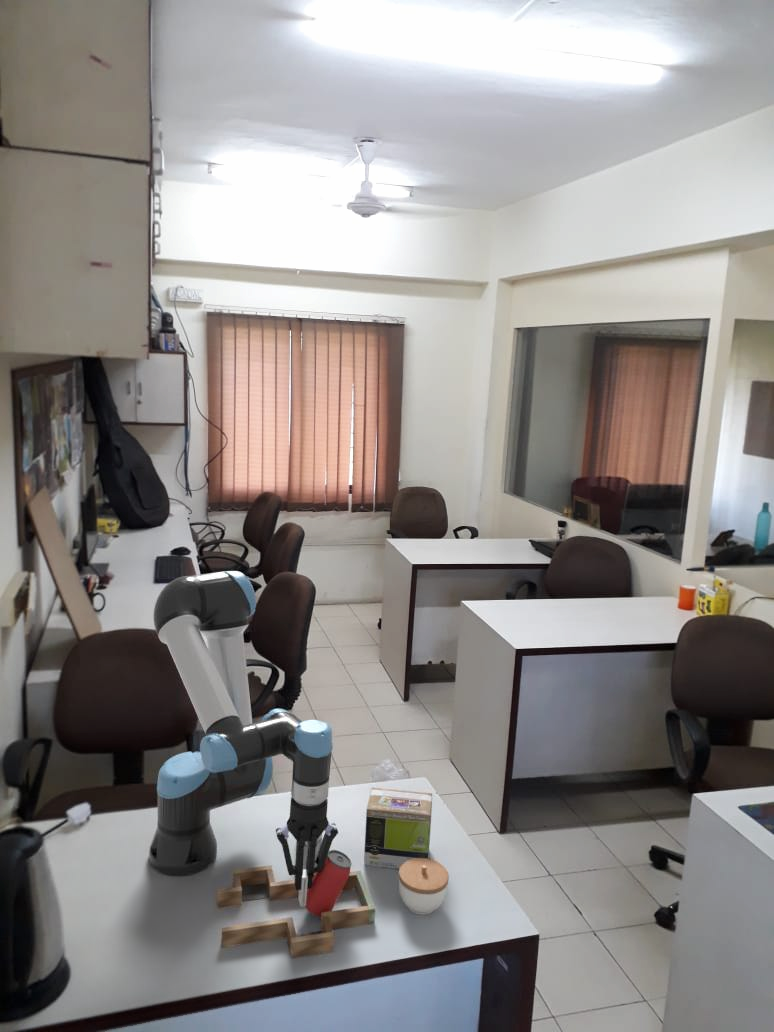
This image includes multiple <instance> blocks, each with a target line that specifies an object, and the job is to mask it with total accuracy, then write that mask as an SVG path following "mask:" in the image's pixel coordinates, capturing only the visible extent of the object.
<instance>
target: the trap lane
mask: <svg viewBox="0 0 774 1032" xmlns="http://www.w3.org/2000/svg"><path fill="white" fill-rule="evenodd" d="M349 890H355V891H356V894H357V896H358V900H359V901H360V904H361V906H357V907H349V908H343V909H336V910H332V911H329V912H322V913H321V917H320V930H317V931H310V932H305V933H299V934H297V932H296V928H295V927H296V926H295V923H294V919H293V916H290V917H283V918H277V919H269V920H261V921H256V922H247V923H244V924H235V925H229V926H228V925H227V926H222V927H221V936H220V937H221V939H220V941H221V943H220V944H221V948H226V947H234V946H238V945H239V946H240V945H245V944H251V943H258V942H264V941H266V942H267V941H271V940H277V939H283V938H284V939H285V938H286V941H287V946H288V950H289V954H290V959H296V958H302V957H307V956H309V957H310V956H313V955H319V954H320V955H321V954H326V953H333V952H335V951H334V947H335V933H334V931H336V930H340V929H349V928H354V927H362V926H366V925H367V926H368V925H373V924H374V925H375V921H376V920H375V918H376V907H375V904H374V902H373V899H372V896H371V894H370V892H369V888H368V886H367V884H366V882H365V879H364V876H363V874H362V872H361V870H355V871H350V874H349V877H348V879H347V881H346V883H345V885H344V887H343V889H342V891H349ZM342 891H341V892H342ZM216 893H217V894H216V896H217V897H216V908H217V909H222V908H229V907H235V906H237V907H238V906H242V903H243V902H249V901H255V900H263V899H264V900H265V899H269V902H270V901H271V902H272V901H273V902H274V901H277V900H278V901H279V900H287V899H292V898H298V896H299V890H296V888H295V878H294V879H288V880H280V881H276V879H275V876H274V870H273V866H272V865H270V864H269V865H264V866H257V867H249V868H243V869H242V868H239V869H233V870H232V887H229V888H227V887H226V888H221V889H220V888H219V889H217V892H216Z"/></svg>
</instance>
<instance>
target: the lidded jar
mask: <svg viewBox="0 0 774 1032" xmlns="http://www.w3.org/2000/svg"><path fill="white" fill-rule="evenodd" d="M449 879H450V878H449V873H448V870H447V869H446V867H445V866H444V865H443V864H441V863H440V862H438V861H437V860H435V859H431V858H428V859H427V858H414V859H411V860H408V861H406V862H405V863H403V864H402V866H401V867H400V869H399V870H398V890H399V894H400V898H401V900H402V901H403V903H404V905H405V906H406V908H408V909H409V911H411V912H412V913H413V914H417V915H422V916H424V915H430V914H432V913H433V912H434V911H436V910H437V909H438V908H439V907H441V905H442V903H443V902H444V900H445V898H446V896H447V890H448V885H449V884H448V883H449Z"/></svg>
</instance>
